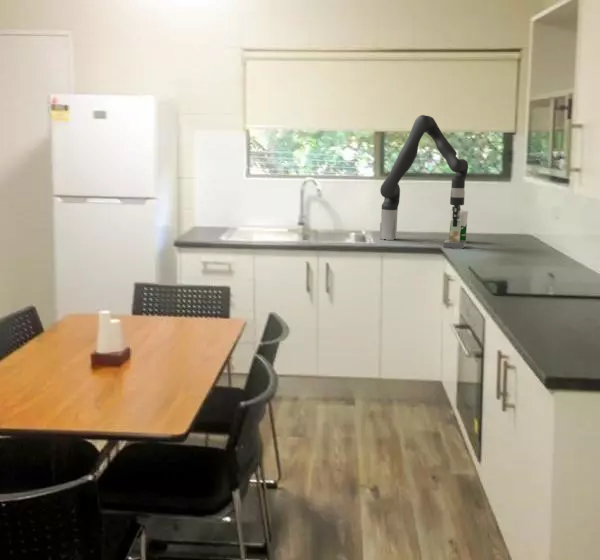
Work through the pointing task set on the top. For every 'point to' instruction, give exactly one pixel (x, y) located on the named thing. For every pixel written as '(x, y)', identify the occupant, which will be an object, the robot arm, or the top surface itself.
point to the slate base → (454, 244)
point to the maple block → (454, 236)
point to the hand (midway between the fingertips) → (455, 225)
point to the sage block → (457, 225)
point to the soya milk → (463, 223)
